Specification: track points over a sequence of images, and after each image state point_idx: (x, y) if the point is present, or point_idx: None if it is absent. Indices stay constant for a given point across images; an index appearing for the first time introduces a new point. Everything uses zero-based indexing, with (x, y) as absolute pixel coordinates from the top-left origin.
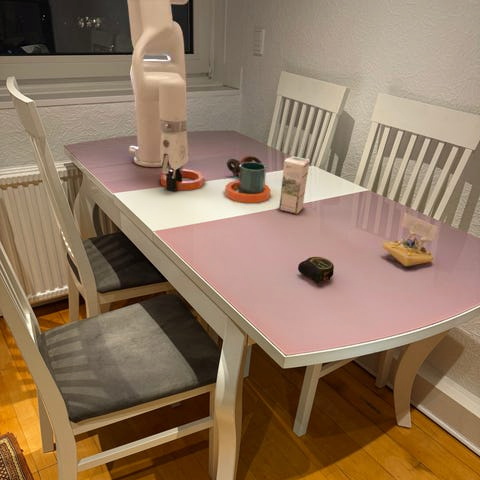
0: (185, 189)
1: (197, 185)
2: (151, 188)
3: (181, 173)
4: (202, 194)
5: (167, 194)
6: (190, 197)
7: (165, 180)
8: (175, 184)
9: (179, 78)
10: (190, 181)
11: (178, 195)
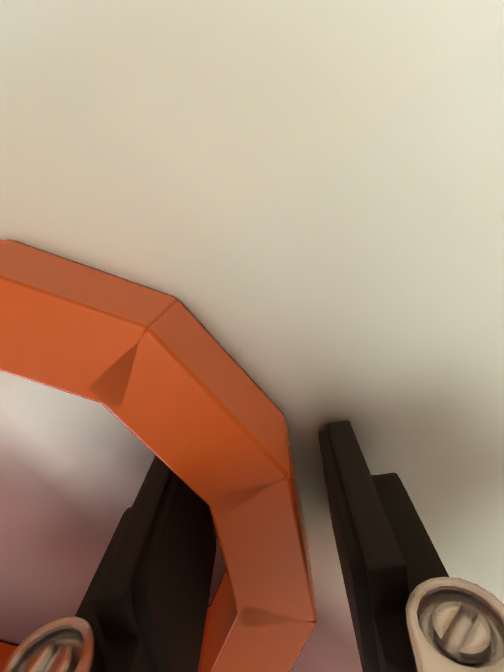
0: (223, 350)
1: (21, 256)
2: None
3: (78, 627)
4: (191, 22)
5: (494, 438)
6: (432, 112)
7: (293, 655)
8: (372, 481)
9: None
10: (70, 374)
11: (452, 311)
